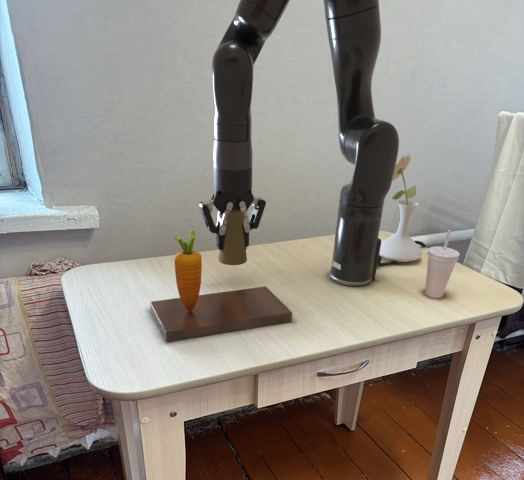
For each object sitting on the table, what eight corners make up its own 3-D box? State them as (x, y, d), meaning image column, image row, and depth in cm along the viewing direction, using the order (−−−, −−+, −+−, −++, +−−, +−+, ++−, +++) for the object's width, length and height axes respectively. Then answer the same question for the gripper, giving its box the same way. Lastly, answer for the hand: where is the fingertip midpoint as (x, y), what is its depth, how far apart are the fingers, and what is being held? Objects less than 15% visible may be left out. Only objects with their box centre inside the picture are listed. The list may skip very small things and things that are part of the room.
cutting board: (265, 294, 105) (266, 286, 104) (291, 321, 95) (292, 312, 94) (150, 311, 97) (149, 301, 95) (166, 342, 87) (165, 332, 86)
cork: (243, 266, 103) (243, 213, 98) (214, 263, 104) (213, 210, 99) (249, 256, 108) (250, 204, 103) (222, 253, 109) (222, 202, 104)
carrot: (181, 319, 90) (178, 238, 82) (172, 308, 94) (168, 228, 86) (207, 314, 92) (206, 234, 84) (197, 303, 96) (195, 226, 88)
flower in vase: (399, 247, 134) (418, 147, 121) (430, 262, 126) (454, 156, 113) (360, 253, 129) (376, 150, 116) (389, 269, 120) (410, 159, 107)
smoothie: (450, 292, 110) (467, 229, 103) (446, 303, 105) (463, 238, 98) (421, 285, 113) (435, 224, 105) (415, 296, 108) (430, 232, 100)
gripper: (202, 170, 91) (205, 260, 100) (274, 166, 96) (271, 252, 105) (191, 162, 97) (195, 247, 106) (259, 158, 102) (257, 240, 111)
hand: (233, 249), depth 105 cm, fingers closed on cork, 4 cm apart
